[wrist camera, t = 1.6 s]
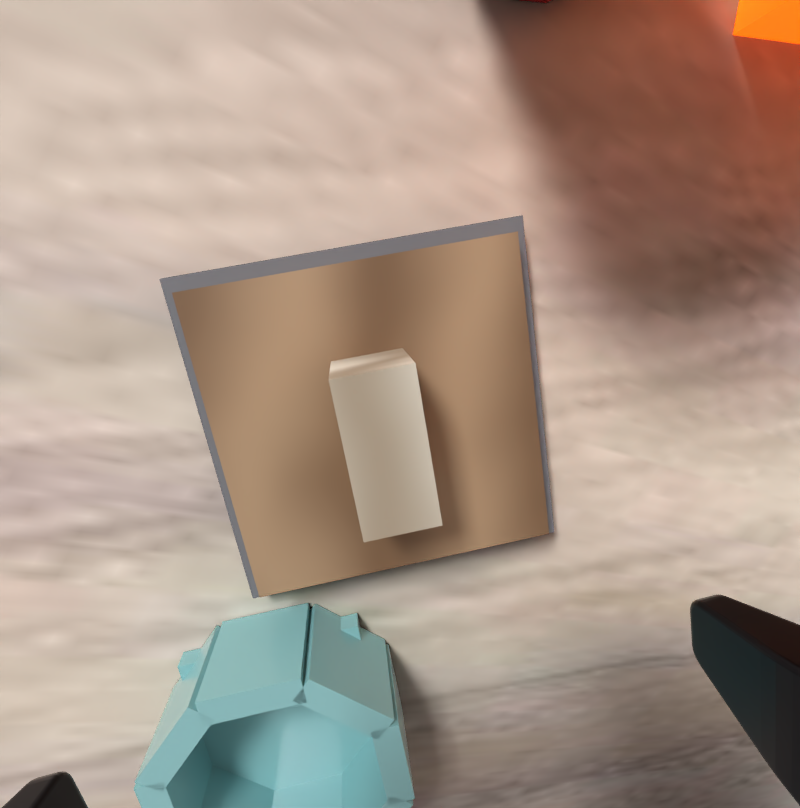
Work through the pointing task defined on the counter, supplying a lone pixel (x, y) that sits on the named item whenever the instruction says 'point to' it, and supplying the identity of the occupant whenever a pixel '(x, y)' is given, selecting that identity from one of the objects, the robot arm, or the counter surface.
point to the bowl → (282, 719)
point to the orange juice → (769, 20)
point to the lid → (372, 409)
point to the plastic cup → (541, 0)
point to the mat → (336, 257)
